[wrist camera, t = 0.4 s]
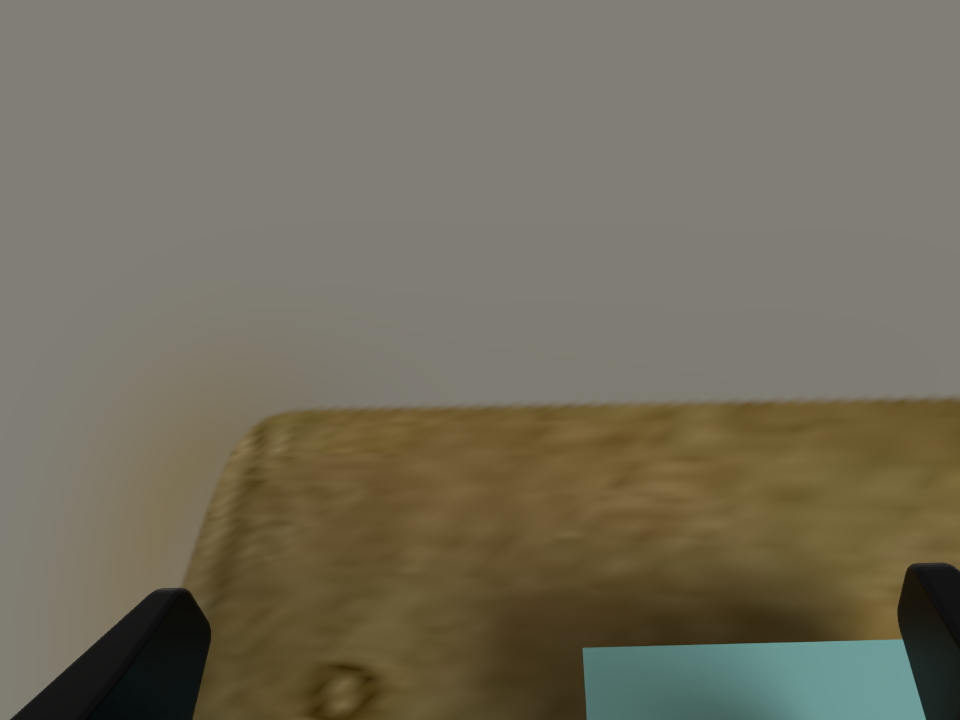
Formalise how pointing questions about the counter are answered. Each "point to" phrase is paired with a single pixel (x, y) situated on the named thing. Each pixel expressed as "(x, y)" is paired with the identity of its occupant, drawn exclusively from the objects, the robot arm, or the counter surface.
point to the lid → (752, 682)
